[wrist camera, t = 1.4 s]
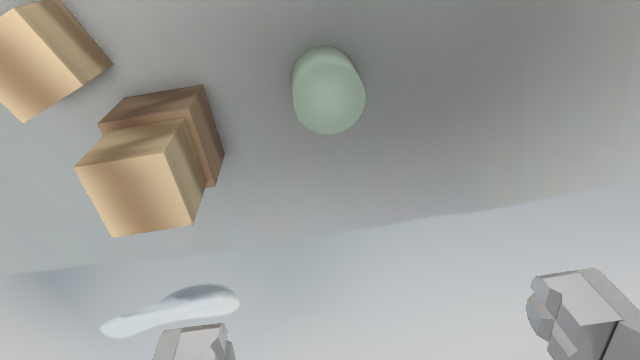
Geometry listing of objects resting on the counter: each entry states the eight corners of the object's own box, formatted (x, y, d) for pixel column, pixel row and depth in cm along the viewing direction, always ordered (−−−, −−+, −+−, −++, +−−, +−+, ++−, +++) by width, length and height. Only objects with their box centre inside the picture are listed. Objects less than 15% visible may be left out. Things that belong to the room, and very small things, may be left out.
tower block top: (184, 117, 25) (163, 152, 21) (207, 181, 28) (192, 224, 24) (108, 129, 25) (73, 167, 21) (138, 192, 28) (112, 237, 24)
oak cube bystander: (58, -4, 26) (13, 7, 21) (113, 63, 28) (83, 85, 24) (3, 35, 27) (-51, 53, 22) (61, 96, 29) (23, 123, 25)
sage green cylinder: (351, 40, 28) (362, 58, 24) (357, 103, 31) (368, 128, 27) (286, 51, 29) (286, 70, 24) (297, 112, 31) (299, 139, 27)
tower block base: (202, 84, 29) (188, 108, 25) (224, 154, 33) (215, 186, 28) (124, 97, 29) (97, 123, 25) (153, 165, 33) (134, 199, 28)
